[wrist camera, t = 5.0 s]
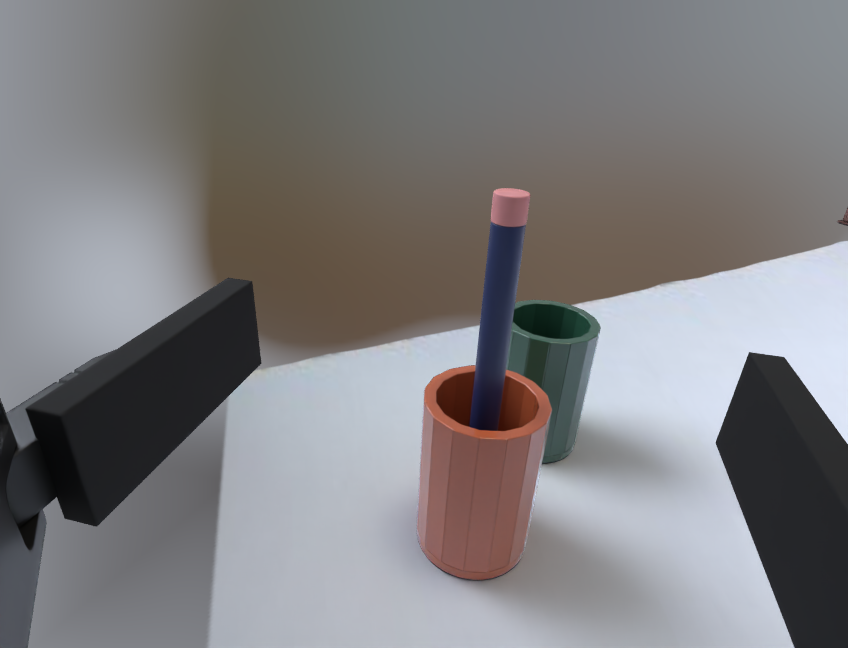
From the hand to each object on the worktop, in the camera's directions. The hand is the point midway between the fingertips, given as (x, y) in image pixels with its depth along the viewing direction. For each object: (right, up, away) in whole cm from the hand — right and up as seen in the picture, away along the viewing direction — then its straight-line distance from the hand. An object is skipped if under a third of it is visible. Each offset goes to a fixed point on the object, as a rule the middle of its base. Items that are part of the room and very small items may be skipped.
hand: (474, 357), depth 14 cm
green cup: (+6, -7, +23) cm, 25 cm away
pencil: (+1, -10, +15) cm, 18 cm away
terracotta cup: (+1, -11, +15) cm, 18 cm away
